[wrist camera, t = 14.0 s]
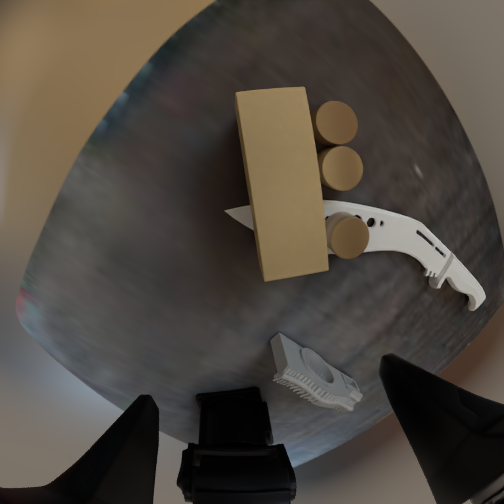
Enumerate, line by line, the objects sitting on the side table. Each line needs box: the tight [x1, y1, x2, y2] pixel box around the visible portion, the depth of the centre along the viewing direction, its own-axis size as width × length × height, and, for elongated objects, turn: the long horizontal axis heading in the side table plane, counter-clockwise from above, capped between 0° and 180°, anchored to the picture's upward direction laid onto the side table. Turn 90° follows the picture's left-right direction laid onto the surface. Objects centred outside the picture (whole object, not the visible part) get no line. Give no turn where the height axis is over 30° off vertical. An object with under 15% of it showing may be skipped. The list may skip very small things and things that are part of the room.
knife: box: [225, 200, 486, 311], centre depth 21 cm, size 30×2×8 cm
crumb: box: [310, 101, 358, 146], centre depth 16 cm, size 3×3×2 cm
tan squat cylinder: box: [325, 212, 369, 259], centre depth 18 cm, size 3×3×2 cm
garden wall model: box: [270, 332, 363, 413], centre depth 21 cm, size 12×2×6 cm, turn 48°
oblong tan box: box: [235, 87, 329, 282], centre depth 15 cm, size 4×10×5 cm, turn 8°
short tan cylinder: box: [317, 146, 363, 191], centre depth 17 cm, size 3×3×2 cm
